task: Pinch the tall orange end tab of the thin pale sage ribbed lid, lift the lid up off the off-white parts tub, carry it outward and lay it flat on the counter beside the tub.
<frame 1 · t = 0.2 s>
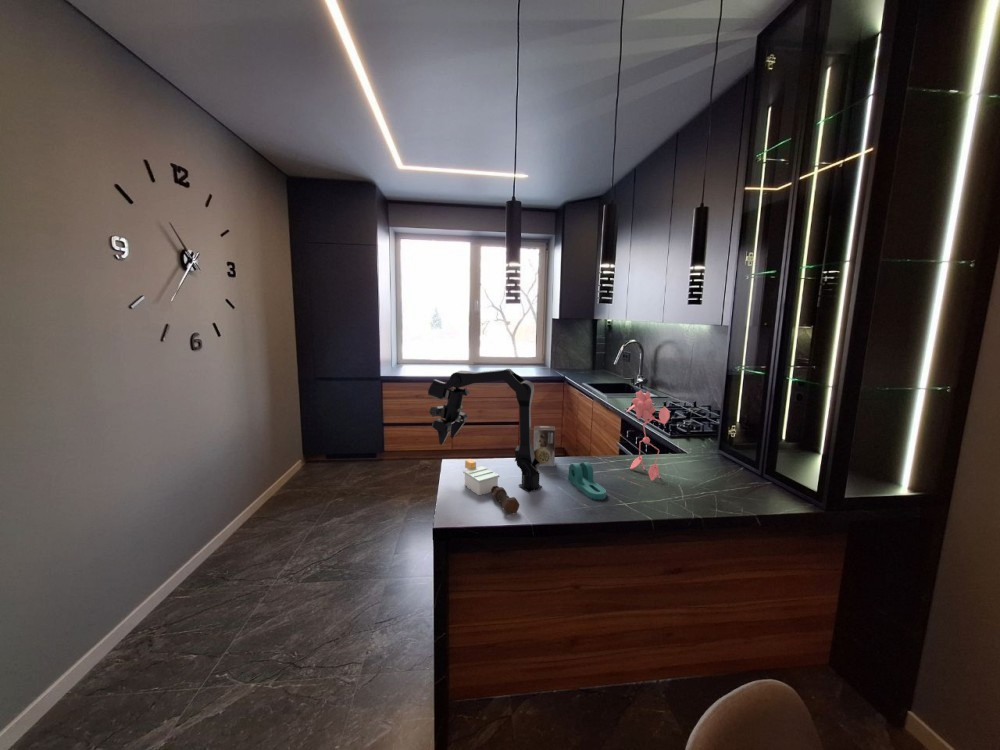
hand: (446, 441, 152), 15 cm above the counter, tool pointing down, fingers open, 9 cm apart
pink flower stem: (637, 476, 157), on the counter
bracket: (587, 489, 145), on the counter
lid: (481, 474, 144), point 5 cm above the counter, touching parts tub
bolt: (503, 504, 133), on the counter
coffee box: (543, 464, 169), on the counter
parts tub: (481, 487, 145), on the counter
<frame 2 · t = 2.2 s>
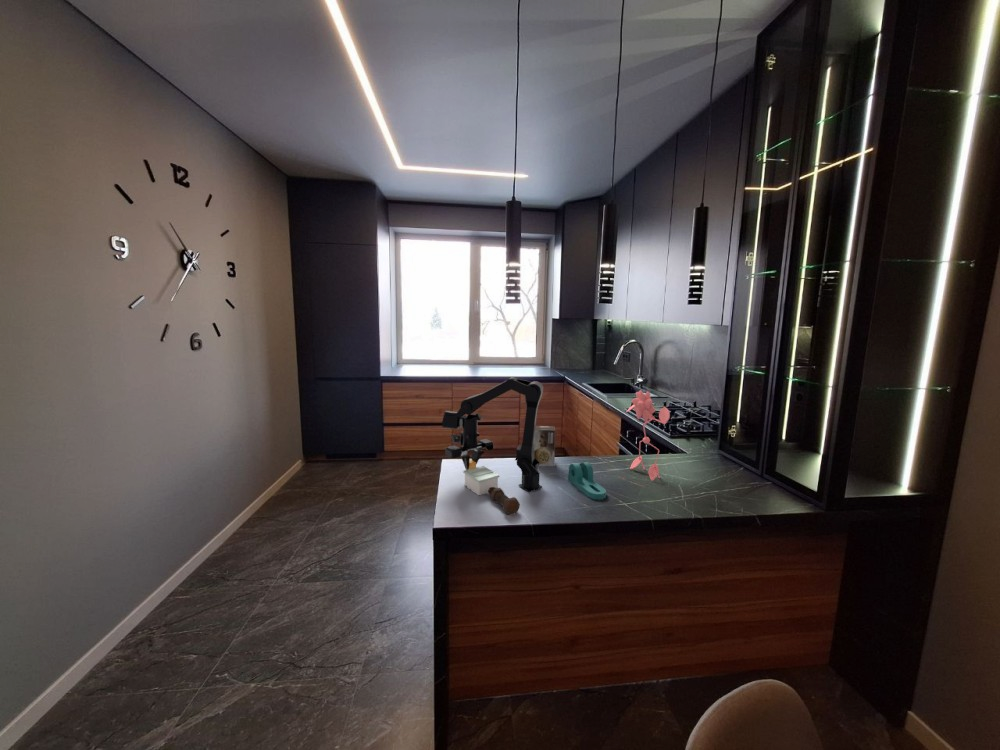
hand: (470, 469, 150), 5 cm above the counter, tool pointing down, fingers closed on lid, 2 cm apart
lid: (481, 474, 144), point 5 cm above the counter, touching gripper, parts tub
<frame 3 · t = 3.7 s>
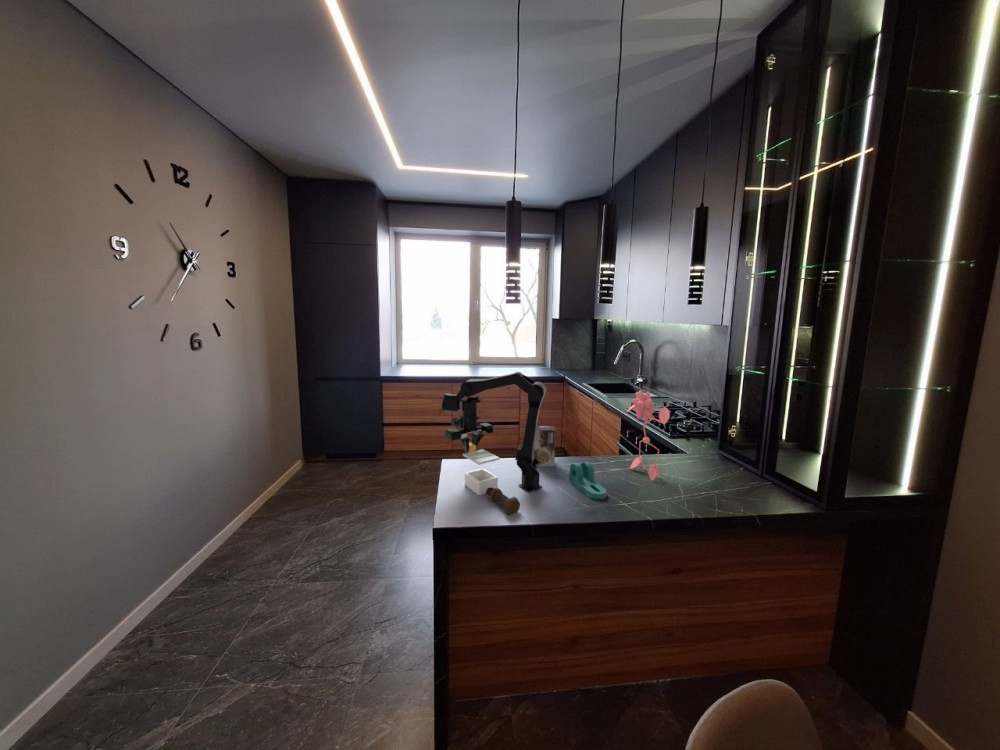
hand: (469, 452, 149), 11 cm above the counter, tool pointing down, fingers closed on lid, 2 cm apart
lid: (480, 457, 143), point 12 cm above the counter, touching gripper
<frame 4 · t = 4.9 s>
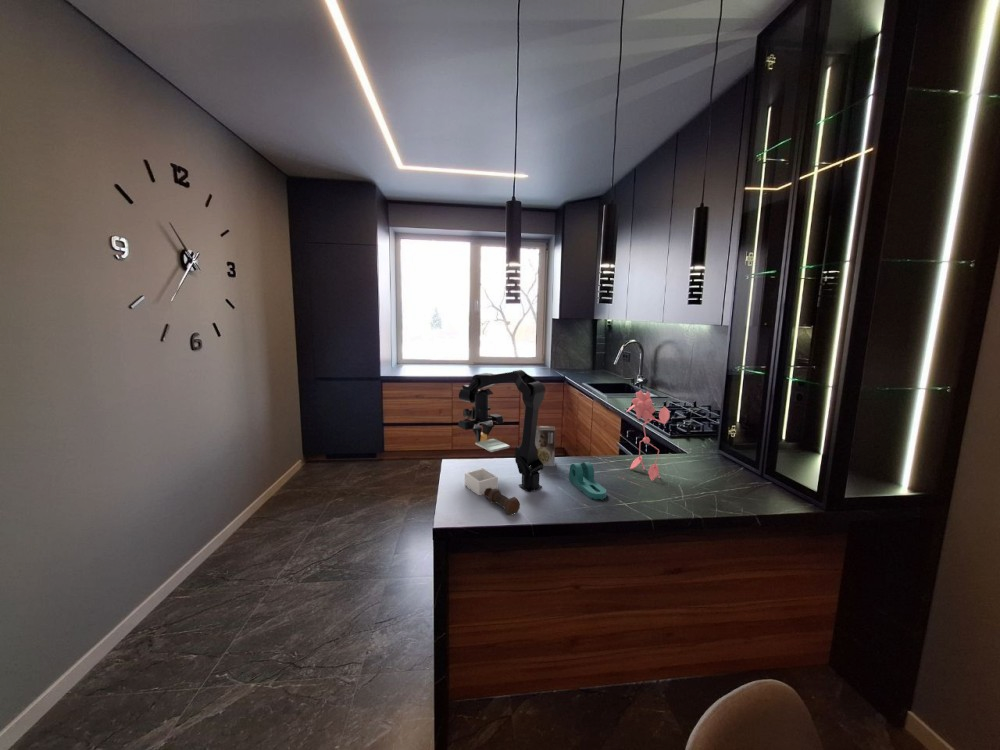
hand: (481, 441, 160), 12 cm above the counter, tool pointing down, fingers closed on lid, 2 cm apart
lid: (492, 445, 153), point 13 cm above the counter, touching gripper
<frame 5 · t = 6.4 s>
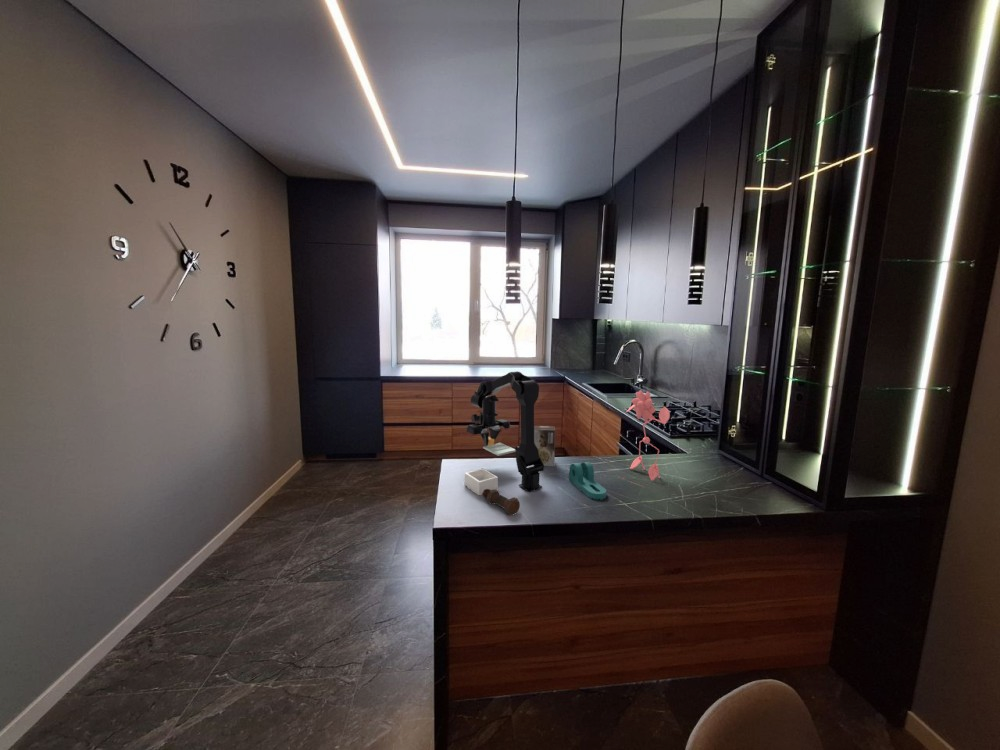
hand: (488, 446, 167), 8 cm above the counter, tool pointing down, fingers closed on lid, 2 cm apart
lid: (499, 449, 161), point 9 cm above the counter, touching gripper
when the fingers open (2 cm above the counter, at t = 7.7 s): lid drops 2 cm, on the counter.
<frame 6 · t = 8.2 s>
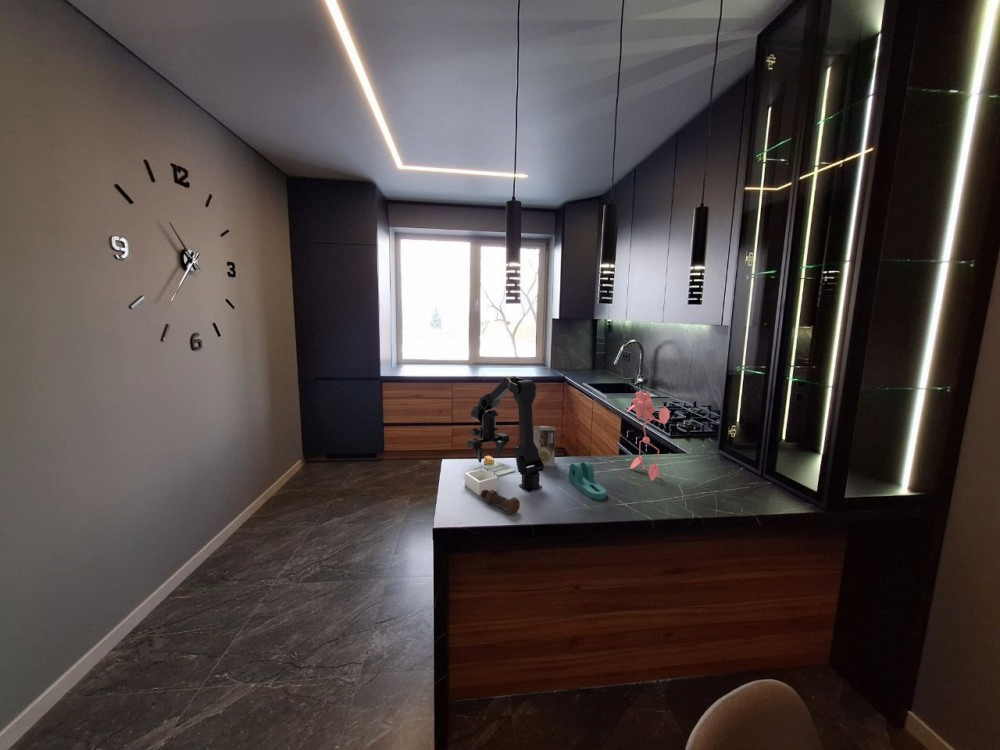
hand: (488, 460, 168), 2 cm above the counter, tool pointing down, fingers open, 9 cm apart
lid: (499, 470, 162), on the counter
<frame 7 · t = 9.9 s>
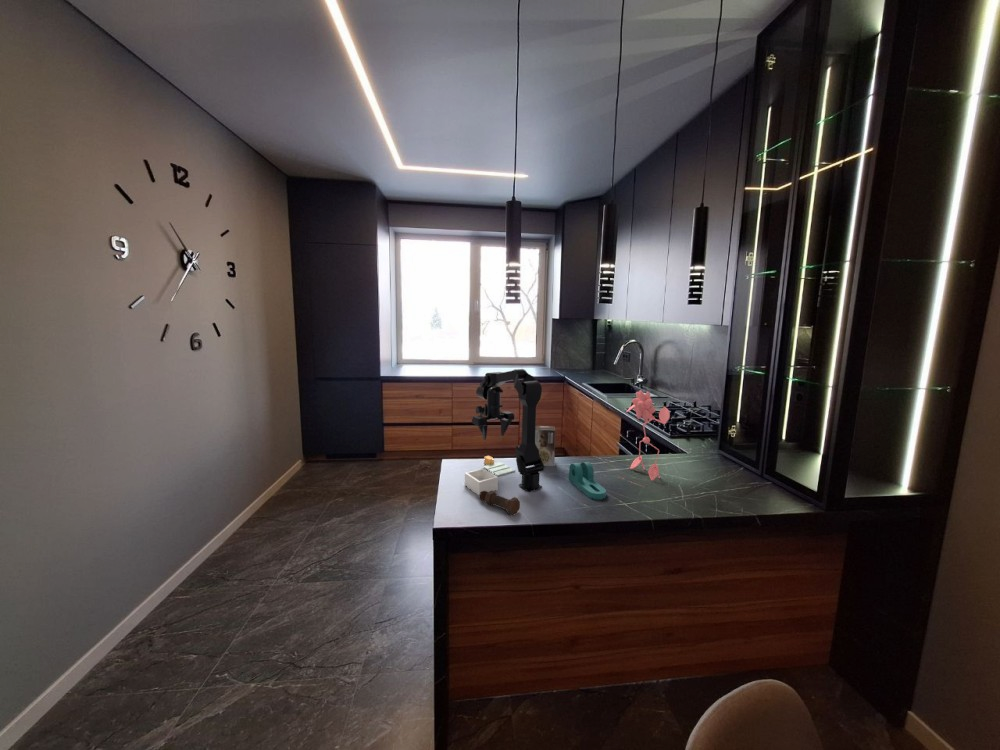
hand: (493, 437, 166), 12 cm above the counter, tool pointing down, fingers open, 9 cm apart
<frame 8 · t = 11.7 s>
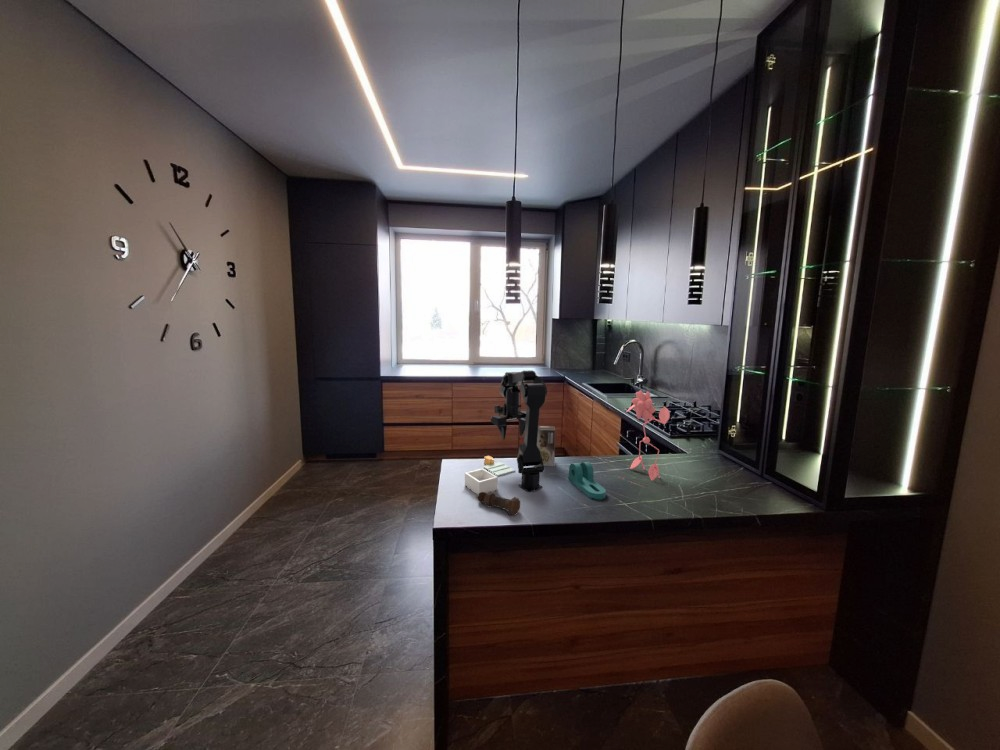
hand: (512, 437, 166), 12 cm above the counter, tool pointing down, fingers open, 9 cm apart
at the end: lid inside the target area (0.1 cm from its centre), on the counter; lid tilted 1°; the gripper is holding nothing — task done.
